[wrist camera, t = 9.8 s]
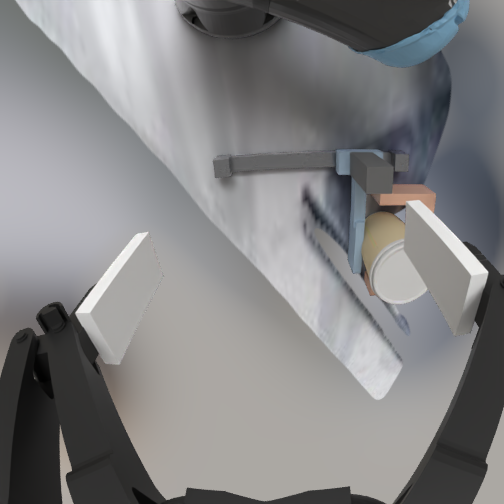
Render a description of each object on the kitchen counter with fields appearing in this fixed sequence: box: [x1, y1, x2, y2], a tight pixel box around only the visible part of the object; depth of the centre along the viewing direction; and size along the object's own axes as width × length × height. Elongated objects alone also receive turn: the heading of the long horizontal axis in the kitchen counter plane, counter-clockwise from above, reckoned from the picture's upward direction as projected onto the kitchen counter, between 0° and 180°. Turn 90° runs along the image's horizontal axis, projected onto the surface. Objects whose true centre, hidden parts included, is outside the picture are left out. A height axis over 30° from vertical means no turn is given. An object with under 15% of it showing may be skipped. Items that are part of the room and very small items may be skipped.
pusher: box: [336, 149, 394, 274], centre depth 39 cm, size 18×6×11 cm, turn 5°
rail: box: [213, 150, 409, 178], centre depth 40 cm, size 2×26×3 cm, turn 95°
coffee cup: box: [361, 211, 428, 304], centre depth 41 cm, size 9×9×12 cm
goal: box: [364, 184, 436, 296], centre depth 44 cm, size 16×9×4 cm, turn 5°
